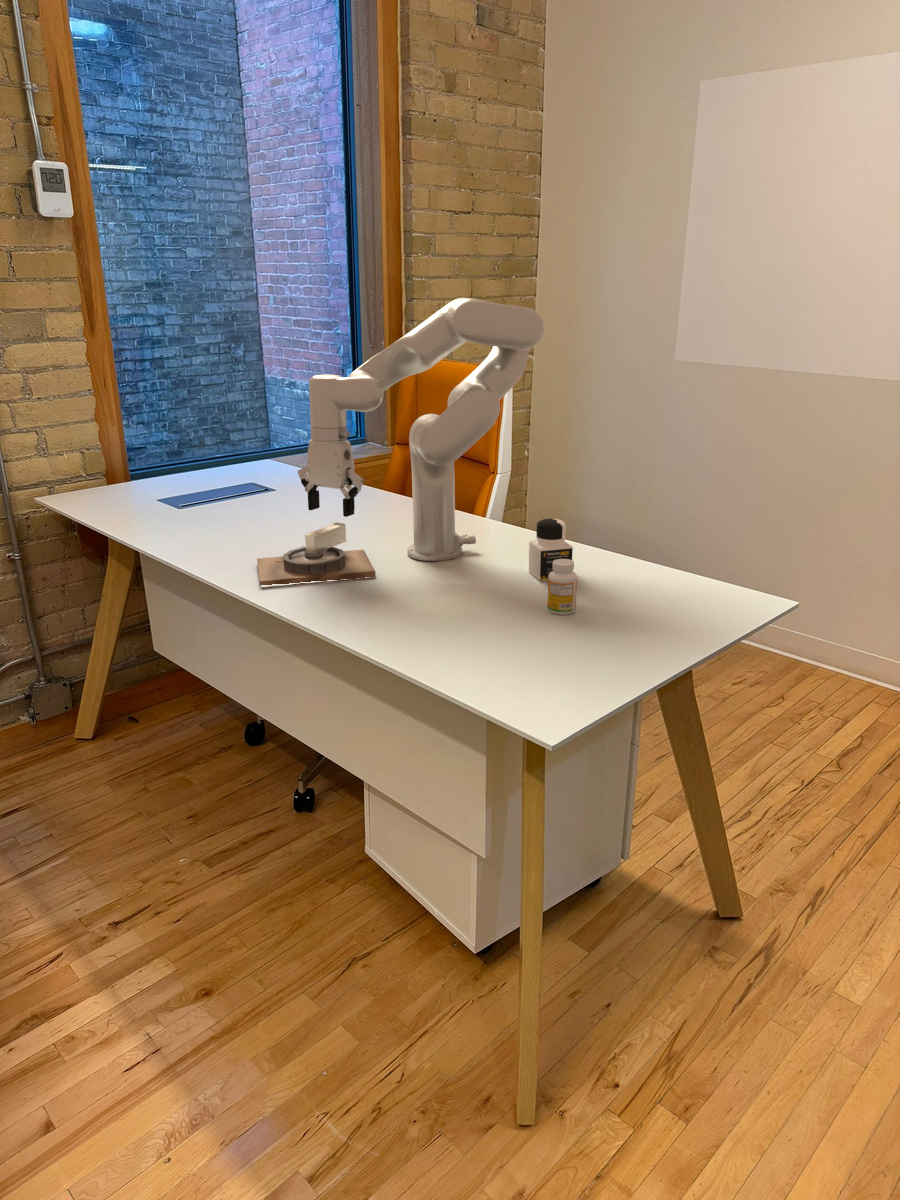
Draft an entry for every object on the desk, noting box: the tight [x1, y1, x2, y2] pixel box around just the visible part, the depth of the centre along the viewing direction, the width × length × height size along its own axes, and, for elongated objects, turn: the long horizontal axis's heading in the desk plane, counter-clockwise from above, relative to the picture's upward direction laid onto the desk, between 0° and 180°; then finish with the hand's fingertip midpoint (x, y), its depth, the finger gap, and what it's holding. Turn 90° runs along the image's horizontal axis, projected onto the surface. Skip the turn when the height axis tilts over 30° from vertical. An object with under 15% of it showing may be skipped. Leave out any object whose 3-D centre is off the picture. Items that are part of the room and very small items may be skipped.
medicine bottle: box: [528, 518, 574, 583], centre depth 181 cm, size 7×7×12 cm
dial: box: [291, 521, 347, 563], centre depth 188 cm, size 15×10×7 cm, turn 149°
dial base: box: [256, 546, 376, 585], centre depth 187 cm, size 24×16×4 cm
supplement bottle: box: [547, 559, 578, 616], centre depth 162 cm, size 5×5×10 cm
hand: (331, 512), depth 190 cm, fingers open, 9 cm apart
